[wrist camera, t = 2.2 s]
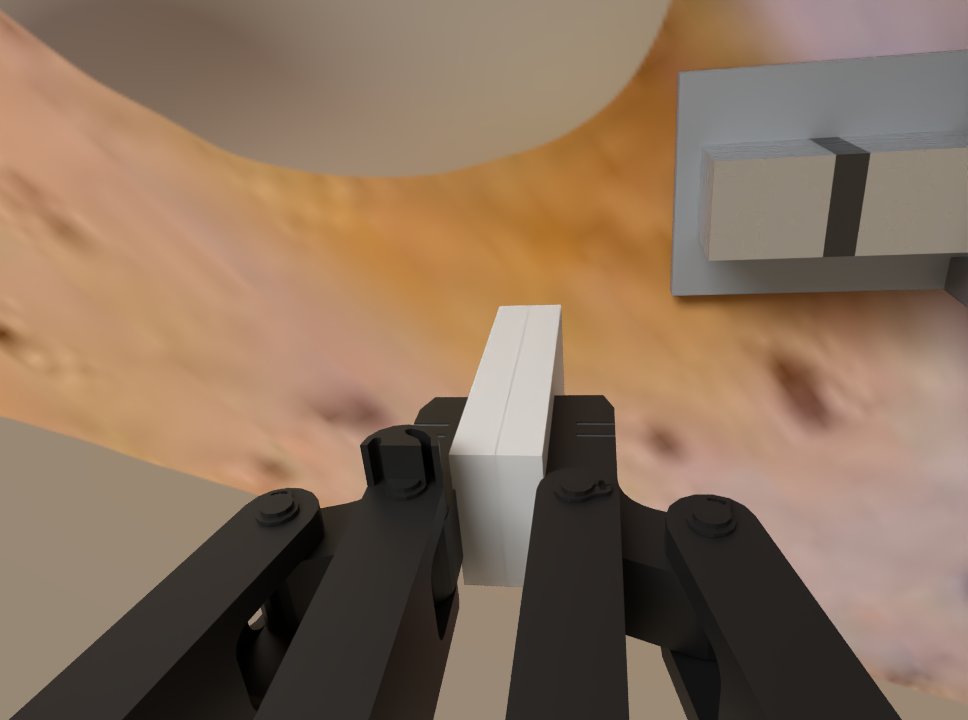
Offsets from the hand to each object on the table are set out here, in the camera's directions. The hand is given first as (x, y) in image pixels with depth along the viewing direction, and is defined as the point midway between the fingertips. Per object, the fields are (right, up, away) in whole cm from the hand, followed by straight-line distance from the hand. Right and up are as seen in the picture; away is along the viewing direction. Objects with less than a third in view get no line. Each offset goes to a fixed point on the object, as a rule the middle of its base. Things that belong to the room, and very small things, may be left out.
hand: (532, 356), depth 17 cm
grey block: (+13, +8, +13) cm, 20 cm away
